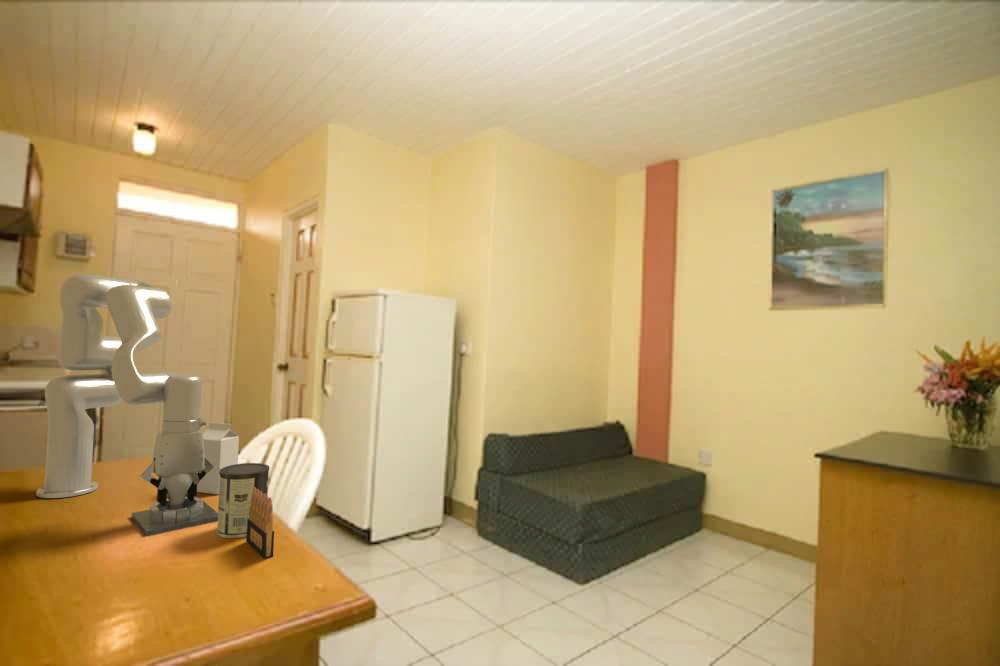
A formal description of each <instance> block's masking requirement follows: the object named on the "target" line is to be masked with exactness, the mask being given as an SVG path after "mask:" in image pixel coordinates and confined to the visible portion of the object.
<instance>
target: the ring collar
mask: <svg viewBox="0 0 1000 666" xmlns="http://www.w3.org/2000/svg"><path fill="white" fill-rule="evenodd" d="M131 519H132V520H133V522H135V524H136V525H137V526H138V528H139V530H141V531H142V533H143V534H144V536H145V537H148V536H154V535H158V534H163V533H168V532H172V531H177V530H182V529H185V528H191V527H195V526H196V527H197V526H201V525H204V524H205V525H206V524H210V523H214V522H218V511H216V509H214V508H213V507H211V506H210V505H209V504H208V503H206V502H205V501H204V500H203V499H201V497H196V496H194V501H190V500H189V499H187V496H185V501H184V503H183V508H181V509H174V510H170V504H169V498H167V500H166V505H165V506H163V507H162V506H161V505H160V503H158V502H157V501H156V502H154V503H153V504H152V505H150V506H149V509H146V510H141V511H136V512H132V513H131Z"/></svg>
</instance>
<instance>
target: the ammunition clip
mask: <svg viewBox="0 0 1000 666" xmlns="http://www.w3.org/2000/svg"><path fill="white" fill-rule="evenodd" d="M273 513H274V512H273V500H272V497H269V496H268V495H266V496H265V494H264V493H263V494H262V491H260V492H259V489H257V490H256V487H254V489H253V491H252V496H251V505H250V511H249V519H248V522H247V537H245V538H246V539H245V542H247V543H248V544H249V545H248V544H247V543H246V544H247V545H248V546H250V548H252V549H253V551H255V553H257V554H258V555H259V556H260V557H261V558H262V559H267V558H272V557H274V548H275V547H274V546H275V545H274V544H275V541H274V540H275V530H273V528H274V515H273Z"/></svg>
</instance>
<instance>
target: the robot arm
mask: <svg viewBox="0 0 1000 666" xmlns="http://www.w3.org/2000/svg"><path fill="white" fill-rule="evenodd" d="M59 304H60V307H61V311H62V313H61V315H62V321H61V323H62V324H61V330H60V336H59V345H58V352H57V353H58V354H57V362H58V365H59V366H60V367H61V368H63V369H65V370H69V371H99V370H101V372H100V373H92V374H89V373H88V374H87V373H85V374H65V375H60V376H57V377H55V378H53V379H51V380H50V381H49V382H47V384H46V385H45V389H44V398H45V404H46V410H47V440H46V455H45V456H46V457H45V458H46V459H45V471H44V474H45V475H44V486H42V487H39V488H38V489H37V490H36V493H35V496H36V497H38V498H41V499H63V498H69V497H77V496H80V495H85V494H89V493H91V492H94V491H96V490H97V489H98V487H99V483H98V482H96V481H93V480H92V473H93V472H92V470H93V469H92V467H93V453H94V450H93V449H94V438H95V437H94V434H95V425H94V422H93V419H92V418H91V417H90V416H89V415H88V413H87V412H86V410H88V409H97V408H106V407H113V406H117V405H118V404H120V403H121V402H122V401H124V402H125V403H126V404H129V405H132V406H140V405H151V404H163V408H162V409H163V411H162V426H161V427H162V428H161V429H162V430H161V432H158V433H157V435H156V438H155V443H154V446H153V447H154V448H153V452H152V460H151V461H152V462H151V463H150V465H149V466H148V467H147V468H146V469H145V470H144V471H143V472H141V474H140V478H141V479H143V480H144V481H145V482H148V483H150V484H151V485H153V486H154V487H155V488H156V489H157V491H156V492H157V494H156V503H157V502H158V503H160V505H161V506H162V507H163V506H165V505H166V500H167V499H168V495H167V489H165V488H164V487H165V485H166V481H167V479H168V477H169V476H172V475H176V474H179V473H191V475H192V479H193V481H192V484H191V486H190V488H189V489H188V491H187V493H186V497H187V499H189V500H190V501H194V497H196V496H198V495H197V494H198V492H197V484H198V483H199V481H200V480H201V479H202V478H203V477H204V476H205V475H206V474H207V473H208V472H209V471H211V470H212V469H213V465H212V464H211V463H210V462H209V461H208V460H207V459H206V458H205V457H204V441H203V431H202V429H201V427H203V426H206V425H207V421H206V419H201V408H202V407H201V405H202V402H201V401H202V386H203V385H202V382H203V381H202V378H201V377H199V376H198V375H194V374H184V373H182V372H178V371H164V372H163V371H162V372H161V371H160V372H159V371H157V372H154V371H153V372H152V371H151V372H138V371H139V370H138V369H137V366H136V364H135V361H134V354H135V353H138V352H140V351H143V350H145V349H148V348H150V347H152V346H154V345H156V344H157V343H158V342H159V341H160V340H161V338H162V334H163V333H162V331H161V328H160V327H159V324H158V321H157V319H158V320H159V319H160V320H161V319H164V318H167V317H168V316H169V315H170V314H171V313H172V309H173V302H172V299H171V296H170V295H169V294H168V293H167V291H166V290H164V289H163V288H161V287H157V286H155V285H151V284H148V283H146V282H143V281H140V280H136V279H130V278H123V277H122V278H121V277H113V276H107V275H100V274H91V273H90V274H88V273H87V274H86V273H83V274H82V273H81V274H79V273H78V274H74V275H71V276H68V277H67V278H66V279H65V280H64V281H63V282H62V285H61V286H60V291H59ZM98 308H104V309H108V311H109V314H110V317H111V319H112V321H113V323H114V327H115V328H116V331H117V334H118V336H114V335H113V336H112V335H110V336H109V335H108V336H107V335H103V330H104V329H103V327H104V319H103V317H102V315H101V312H100V311H99V310H98ZM197 472H198V473H197ZM153 473H154V474H155V475H156V476H157V478H155V477H153V476H152V474H153Z"/></svg>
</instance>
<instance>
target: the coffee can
mask: <svg viewBox="0 0 1000 666" xmlns="http://www.w3.org/2000/svg"><path fill="white" fill-rule="evenodd" d="M269 472H270V466H269V465H267V464H265V463H261V462H260V463H259V462H257V463H256V462H251V463H250V462H247V463H238V464H235V465H230V466H227V467H224V468H222V469H220V470H219V474H220V481H219V494H218V510H217V513H218V521H217V526H216V527H217V528H216V534H217V536H219V537H221V538H224V539H225V538H226V539H242V538H246V537H247V522H248V519H249V511H250V505H251V496H252V491H253V489H254V487H256V490H257V489H259V492H260V491H262V494H263V493H264V494H265V496H266V495H267V496H268V494H269V493H268V492H269V474H270V473H269Z"/></svg>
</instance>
